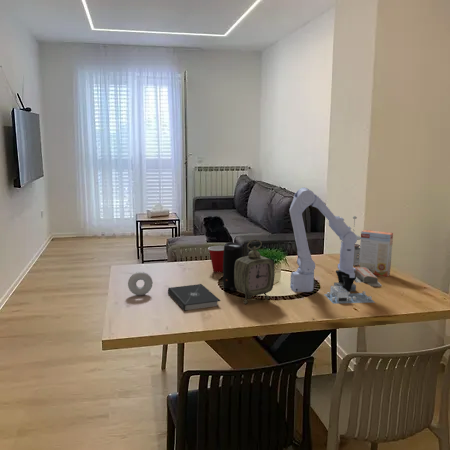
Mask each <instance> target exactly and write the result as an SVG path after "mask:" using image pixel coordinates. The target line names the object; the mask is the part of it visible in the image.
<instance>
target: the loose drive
mask: <svg viewBox="0 0 450 450" xmlns="http://www.w3.org/2000/svg"><path fill="white" fill-rule="evenodd" d="M333 286H342V287H343V288H344V282H339V281H338V282H337V281H336V282H334V283H333ZM356 290H357V285H356V284H355V283H354V282H353V284H352V287H351V290H350V292H356Z"/></svg>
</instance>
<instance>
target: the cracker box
mask: <svg viewBox="0 0 450 450" xmlns="http://www.w3.org/2000/svg"><path fill="white" fill-rule="evenodd" d="M360 237H361V239H360V240H359V242H360V244H359V245H360V246H359V248H360V255H359V254H358V255H359V265H358V267H365V268H367V269H368V270H369V271H371V272H372V273H373V274H374V275H375V276H376V277H378V276H379V277H382V278H383V277H384V278H389V276H390V275H391V267H392V266H391V265H392V252H393V240H394V239H393V238H394V233H393V232H388V231H378V230H371V229H370V230H368V229H363V230H361V232H360Z"/></svg>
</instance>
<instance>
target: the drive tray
mask: <svg viewBox="0 0 450 450" xmlns="http://www.w3.org/2000/svg"><path fill="white" fill-rule="evenodd" d="M323 295H324V296H325V297H326V298H327V299H328V301H330V302H331V303H332V304H335V305H336V304H361V303H362V304H365V303H366V304H367V303H375V301H374V300H373V299H372V296H371V295H370V296H368V295H367V294H366V291H365V290H363V291H362V292H358V293H351V291H350V292H349V294H348V302H336V301H335V297H331V296H330V292H329V291H328V292H326V293H324V294H323Z"/></svg>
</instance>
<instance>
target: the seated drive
mask: <svg viewBox="0 0 450 450" xmlns="http://www.w3.org/2000/svg"><path fill="white" fill-rule="evenodd" d="M348 294H349V292H348V291H347V290H346V289H344V288H343V287H342V286H334V285H330V296H331V297H335V301H336V302H348Z"/></svg>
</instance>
